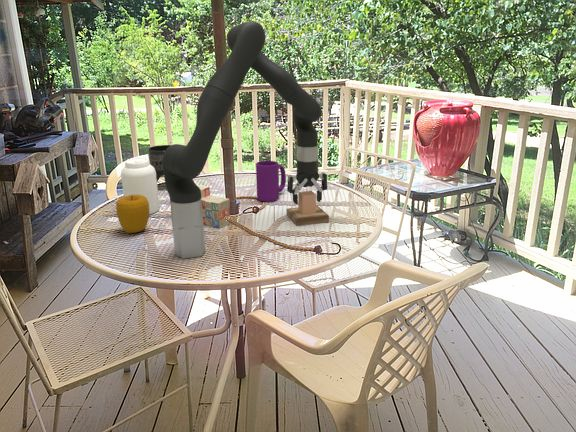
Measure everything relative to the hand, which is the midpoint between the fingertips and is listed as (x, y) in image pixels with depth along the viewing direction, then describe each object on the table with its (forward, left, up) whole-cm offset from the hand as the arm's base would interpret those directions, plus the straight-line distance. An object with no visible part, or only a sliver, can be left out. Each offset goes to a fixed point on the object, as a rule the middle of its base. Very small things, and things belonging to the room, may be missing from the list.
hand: (307, 202), depth 178 cm
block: (0, 0, -3) cm, 3 cm away
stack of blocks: (+10, +36, -6) cm, 39 cm away
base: (0, 0, -6) cm, 6 cm away
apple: (+7, +60, -6) cm, 61 cm away
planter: (+58, +46, -6) cm, 74 cm away
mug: (+29, +5, -6) cm, 30 cm away
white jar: (+28, +57, -6) cm, 64 cm away
